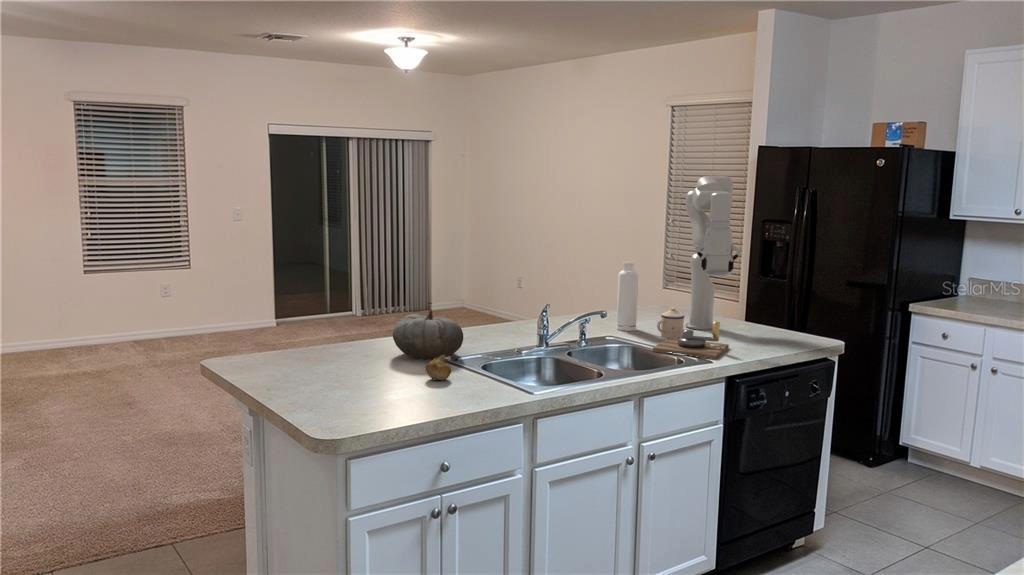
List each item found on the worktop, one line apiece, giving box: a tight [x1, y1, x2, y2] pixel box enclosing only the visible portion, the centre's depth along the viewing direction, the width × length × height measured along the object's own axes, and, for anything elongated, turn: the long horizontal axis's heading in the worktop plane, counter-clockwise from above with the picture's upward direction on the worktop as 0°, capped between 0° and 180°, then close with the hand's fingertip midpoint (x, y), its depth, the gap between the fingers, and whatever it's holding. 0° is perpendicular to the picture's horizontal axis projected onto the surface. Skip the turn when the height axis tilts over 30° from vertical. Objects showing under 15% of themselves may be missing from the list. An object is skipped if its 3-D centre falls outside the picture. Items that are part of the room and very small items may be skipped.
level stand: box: [652, 337, 730, 360], centre depth 294 cm, size 20×23×2 cm
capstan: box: [678, 321, 721, 347], centre depth 293 cm, size 15×10×9 cm
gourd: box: [392, 309, 464, 361], centre depth 278 cm, size 25×25×17 cm
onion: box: [425, 355, 452, 381], centre depth 249 cm, size 8×8×8 cm
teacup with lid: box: [656, 307, 685, 339], centre depth 314 cm, size 12×9×12 cm
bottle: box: [616, 260, 639, 332], centre depth 327 cm, size 8×8×28 cm
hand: (717, 270), depth 301 cm, fingers open, 9 cm apart
